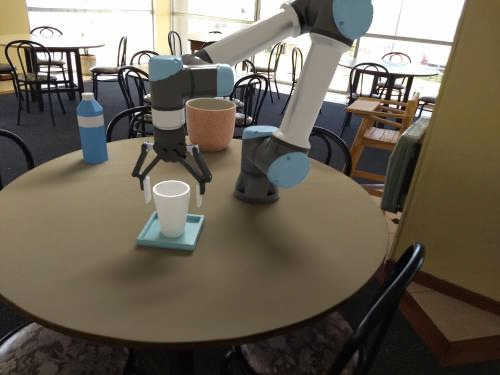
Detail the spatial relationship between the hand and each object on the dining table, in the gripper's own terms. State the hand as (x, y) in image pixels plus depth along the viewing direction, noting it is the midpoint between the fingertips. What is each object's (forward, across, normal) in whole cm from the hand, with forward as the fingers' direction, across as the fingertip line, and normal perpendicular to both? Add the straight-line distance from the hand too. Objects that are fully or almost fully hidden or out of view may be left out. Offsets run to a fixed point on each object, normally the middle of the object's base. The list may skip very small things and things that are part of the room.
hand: (173, 202), depth 98 cm
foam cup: (+9, +1, 0) cm, 9 cm away
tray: (+9, +1, 0) cm, 9 cm away
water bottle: (+9, +43, -44) cm, 62 cm away
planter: (+10, +3, -68) cm, 68 cm away
